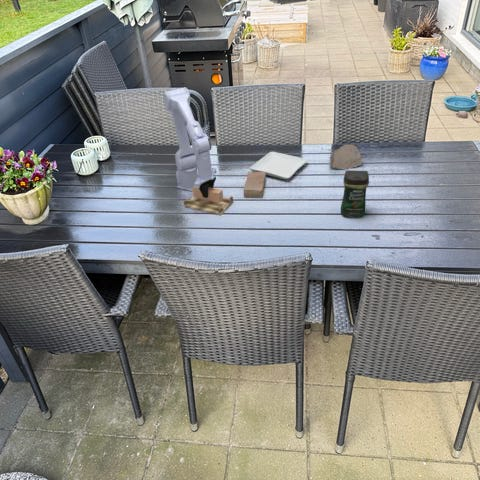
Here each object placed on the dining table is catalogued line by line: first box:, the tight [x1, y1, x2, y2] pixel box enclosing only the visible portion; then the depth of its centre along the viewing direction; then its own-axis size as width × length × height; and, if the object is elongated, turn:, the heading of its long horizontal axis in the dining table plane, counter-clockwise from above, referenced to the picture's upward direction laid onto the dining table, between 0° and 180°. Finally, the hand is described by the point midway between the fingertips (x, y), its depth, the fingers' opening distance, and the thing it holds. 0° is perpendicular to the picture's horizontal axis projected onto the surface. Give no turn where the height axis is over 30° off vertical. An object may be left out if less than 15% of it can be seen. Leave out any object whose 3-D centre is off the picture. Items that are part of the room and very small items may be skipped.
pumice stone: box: [329, 143, 364, 170], centre depth 211 cm, size 15×8×10 cm, turn 90°
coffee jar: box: [340, 170, 370, 218], centre depth 175 cm, size 10×8×19 cm
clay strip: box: [192, 187, 224, 203], centre depth 189 cm, size 13×3×4 cm, turn 61°
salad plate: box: [249, 151, 309, 181], centre depth 215 cm, size 21×21×3 cm
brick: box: [243, 171, 267, 199], centre depth 200 cm, size 17×8×5 cm, turn 172°
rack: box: [183, 195, 234, 216], centre depth 192 cm, size 18×11×3 cm, turn 63°
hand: (207, 195), depth 190 cm, fingers closed on clay strip, 3 cm apart
